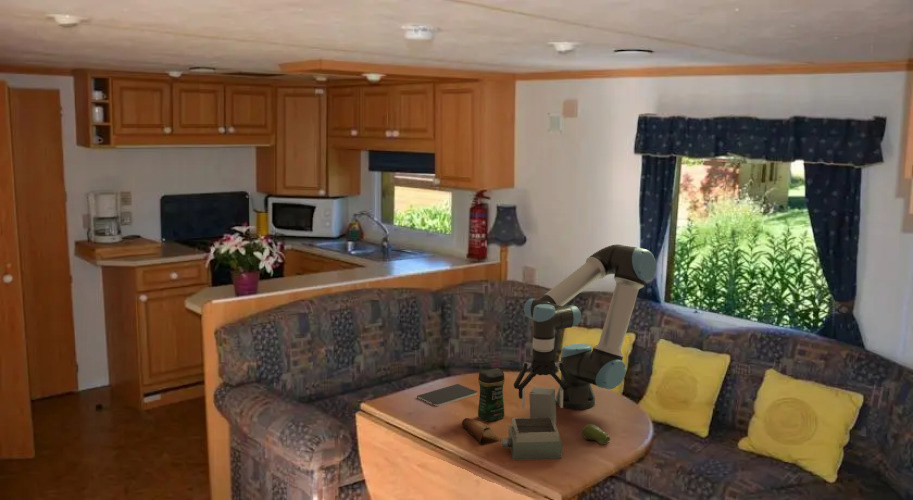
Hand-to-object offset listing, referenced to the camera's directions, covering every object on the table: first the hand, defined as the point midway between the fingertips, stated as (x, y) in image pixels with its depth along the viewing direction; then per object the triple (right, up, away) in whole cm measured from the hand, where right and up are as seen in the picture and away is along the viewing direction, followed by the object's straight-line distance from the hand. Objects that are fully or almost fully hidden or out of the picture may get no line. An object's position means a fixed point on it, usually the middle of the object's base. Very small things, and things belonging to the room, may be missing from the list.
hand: (542, 406), depth 286 cm
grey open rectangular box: (-5, -12, -13) cm, 19 cm away
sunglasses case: (-21, -10, +1) cm, 24 cm away
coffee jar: (-17, -7, +16) cm, 25 cm away
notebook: (-34, -4, +39) cm, 52 cm away
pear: (+18, -11, -6) cm, 22 cm away
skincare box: (0, -10, +2) cm, 10 cm away
